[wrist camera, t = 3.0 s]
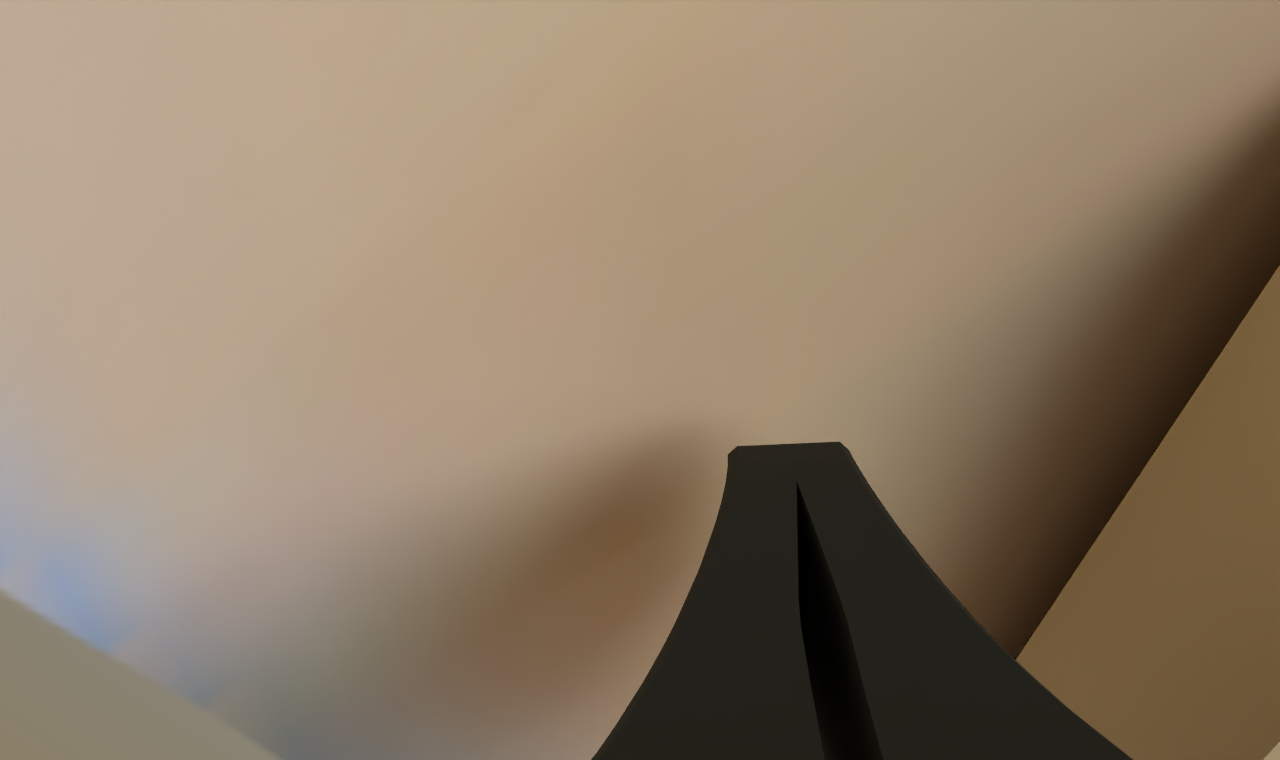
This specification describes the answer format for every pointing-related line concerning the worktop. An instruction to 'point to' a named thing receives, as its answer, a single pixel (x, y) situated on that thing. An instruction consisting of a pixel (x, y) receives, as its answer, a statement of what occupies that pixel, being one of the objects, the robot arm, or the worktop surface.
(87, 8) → the worktop surface
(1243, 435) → the beige grey flat-sided piece
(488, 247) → the worktop surface
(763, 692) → the robot arm
